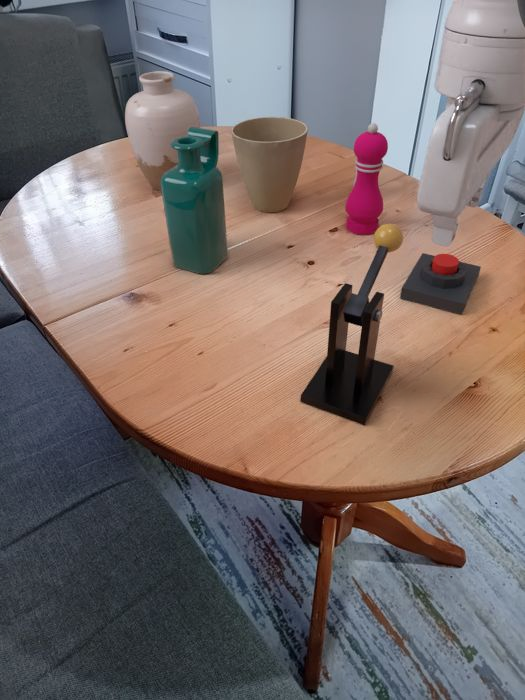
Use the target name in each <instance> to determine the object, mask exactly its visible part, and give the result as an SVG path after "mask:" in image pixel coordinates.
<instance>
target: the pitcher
mask: <svg viewBox="0 0 525 700" xmlns="http://www.w3.org/2000/svg"><path fill="white" fill-rule="evenodd" d="M219 141H220V140H219V131H218V130H215V129H209V128H203V127H202V128H201V127H200V128H196V127H190V128H189V130H188V136H184V137H179V138H176V139H174V140H173V141H172V142H171V144H170V145H171V147H172V148H173V149H175V150H177V157H178V165H176V166H175V167H173V168H172V169H170V170H168V171H167V172H165V173H164V174H163V176H162V178H161V182H160V184H161V191H160V192H161V196H162V203H163V210H164V216H165V224H166V229H167V235H168V242H169V249H170V256H171V262H172V265H173V266H174V267H176V268H178V269H181V270H185V271H189V272H193V273H197V274H201V275H207V274H209V273H212V272H214V271H215V270H216V269H217V268H218V267H219V266H221V264H222V263H223V262H224V261H225V260H226V259H227V258H228V255H229V251H228V239H227V225H226V222H227V221H226V209H225V208H226V207H225V197H224V196H225V195H224V183H223V181H224V180H223V174H222V172H221V170H220V169H219V168H218V167H217V166H218V162H219V153H220V152H219V151H220V150H219V146H220V145H219Z"/></svg>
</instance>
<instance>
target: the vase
mask: <svg viewBox="0 0 525 700" xmlns="http://www.w3.org/2000/svg"><path fill="white" fill-rule="evenodd" d="M138 80H139V82H140V83H141V86H142V90H141V91H139V92H136V93H134V94H132V96H131V97H129V99H128V100H127V102H126V105H125V112H124V123H125V129H126V134H127V136H128V141H129V144H130V147H131V149H132V153H133V156H134V158H135V160H136V163H137V165H138V166H139V168H140V171H141V172H142V174H143V177H144V178H145V179H146V181H147V183H148V184H149V186H151V188H152V189H154V190H155V191H159V192H162V191H161V184H160V182H161V178H162V176H163V174H164V173H165V172H167V171H168V170H170V169H172V168H173V167H175V166H176V165H178V157H177V150H175V149H173V148H172V147H171V145H170V144H171V142H172V141H173V140H174V139H176V138H179V137H184V136H188V130H189V128H190V127H196V128H201V120H200V114H199V109H198V106H197V103H196V102H195V99H194V98H193V97H192V95H190V94H189V93H188V92H186V91H185V90H182V89H178V88H174V80H175V74H174V73H172V72H170V71H162V70H159V71H156V70H155V71H150V72H145V73H142V74H141V75H140V76H139V77H138Z"/></svg>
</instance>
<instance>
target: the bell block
mask: <svg viewBox="0 0 525 700" xmlns="http://www.w3.org/2000/svg"><path fill="white" fill-rule="evenodd" d="M435 256H436V255H432V254H428V253H423V252H422V253H421V255H420V257H419V258H418V260H417V261H416V263H415V265H414V267H413V268H412V270H411V272H409V275H408V277H406V280H405V281H404V283H403V285H402V286H401V290H400V296H399V299H400V300H404V301H408V302H412V303H416V304H419V305H423V306H427V307H431V308H434V309H438V310H442V311H445V312H448V313H452V314H456V315H460V316H462V315H463V314H464V311H465V309H466V306H467V305H468V302H469V299H470V298H471V295H472V293H473V290H474V289H475V285H476V283H477V281H478V278H479V275H480V272H481V268H482V266H480V265H476V264H472V263H467V262H463V261H460V260H459V265H458V269H457V272H456V273H455V274H453V275H442V274H438V273H436V272H434V271H433V270H432V263H433V258H434V257H435Z"/></svg>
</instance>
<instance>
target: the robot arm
mask: <svg viewBox="0 0 525 700" xmlns="http://www.w3.org/2000/svg"><path fill="white" fill-rule="evenodd" d="M440 43H441V44H440V49H439V55H438V62H437V68H436V72H435V73H436V74H435V78H434V85H433V87H434V89H435V91H436V92H437V93H439V94H440V95H442V96H444V97H447V98H446V101H445V105H444V106H445V107H444V109H445V110H443V112H441V113H440V114H439V116H438V117H437V119H436V121H435V123H434V125H433V128H432V131H431V134H430V137H429V141H428V145H427V148H426V153H425V157H424V162H423V165H422V171H421V176H420V180H419V185H418V190H417V196H416V204H417V208H418V210H419V211H420V212H422V213H426V214H430V215H432V223H433V228H432V229H433V230H432V235H431V242H432V243H433V244H434V245H438V246H443V247H450V245H451V244H452V243H453V242H454V240H455V238H456V236H457V235H456V233H457V231H458V227H459V223H458V220H459V217H460V215H461V214H462V212H463V211H464V210H465V209H466V207H469V208H475V207H477V206H478V205H479V204H480V202H481V200H482V197H483V194H484V190H485V186H486V184H487V182H488V180H489V177H490V176H491V175H490V174H491V173H492V171H493V170H494V168H495V167H496V165H497V164H498V162H499V161H500V160H501V158H503V156H504V154H505V153H506V152H507V150H508V149H509V148H510V146H511V144H512V142H513V140H514V138H515V135H516V134H517V132H518V128H519V126H520V124H521V121H522V118H523V116H524V113H525V0H452V4H451V6H450V8H449V10H448V13H447V15H446V17H445V20H444V27H443V33H442V38H441V42H440Z"/></svg>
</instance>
